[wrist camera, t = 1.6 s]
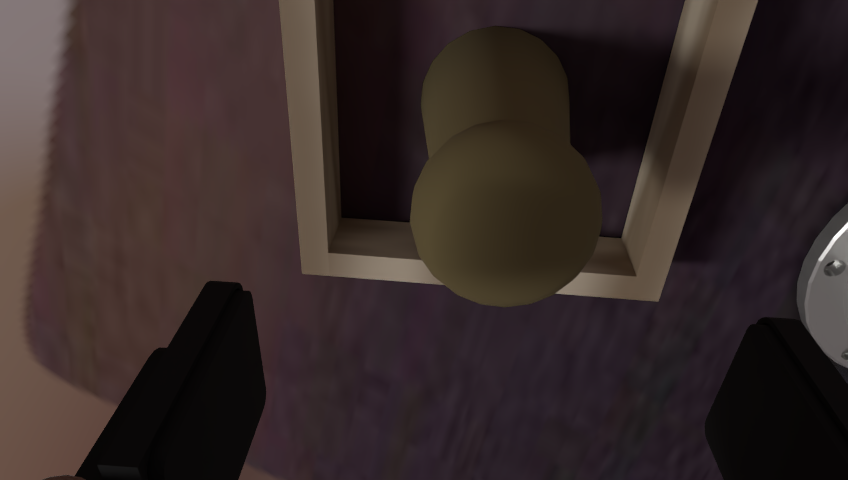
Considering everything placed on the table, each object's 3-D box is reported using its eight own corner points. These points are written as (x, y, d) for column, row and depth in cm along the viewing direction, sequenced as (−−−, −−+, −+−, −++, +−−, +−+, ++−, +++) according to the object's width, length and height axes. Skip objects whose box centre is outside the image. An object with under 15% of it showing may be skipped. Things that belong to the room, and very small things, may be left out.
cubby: (733, -49, 20) (770, -38, 18) (641, 261, 28) (658, 301, 25) (297, -74, 21) (273, -66, 18) (317, 237, 28) (302, 273, 26)
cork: (513, -9, 22) (542, 83, 12) (598, 115, 24) (676, 271, 15) (390, 89, 24) (338, 230, 15) (478, 194, 26) (481, 372, 17)
